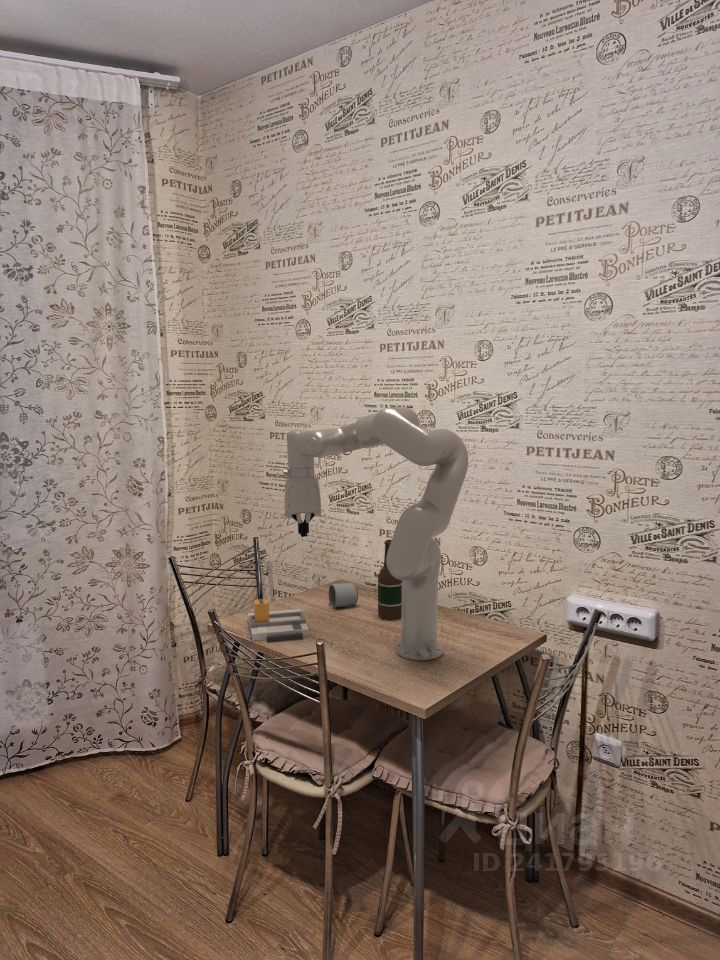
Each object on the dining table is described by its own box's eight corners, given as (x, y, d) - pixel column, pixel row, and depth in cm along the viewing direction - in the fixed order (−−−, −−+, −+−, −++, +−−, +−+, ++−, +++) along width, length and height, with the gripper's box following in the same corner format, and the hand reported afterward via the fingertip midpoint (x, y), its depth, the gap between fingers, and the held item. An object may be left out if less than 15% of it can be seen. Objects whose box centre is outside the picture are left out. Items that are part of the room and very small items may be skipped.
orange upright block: (269, 623, 199) (268, 602, 198) (255, 624, 198) (254, 603, 197) (267, 618, 203) (267, 597, 202) (254, 619, 202) (253, 598, 201)
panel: (308, 635, 195) (308, 625, 195) (252, 641, 191) (251, 630, 191) (300, 615, 212) (299, 606, 212) (248, 619, 209) (247, 610, 208)
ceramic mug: (359, 607, 219) (359, 584, 218) (336, 610, 216) (335, 587, 215) (347, 598, 229) (347, 576, 228) (324, 601, 226) (324, 579, 225)
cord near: (302, 639, 192) (302, 634, 192) (267, 642, 190) (267, 637, 190) (302, 637, 194) (302, 632, 194) (266, 640, 192) (266, 635, 191)
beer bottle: (401, 621, 206) (401, 543, 203) (376, 620, 207) (375, 543, 204) (404, 612, 214) (404, 538, 210) (379, 611, 215) (379, 537, 212)
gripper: (276, 476, 190) (279, 540, 192) (329, 473, 193) (331, 536, 196) (273, 473, 197) (276, 535, 200) (324, 470, 201) (326, 531, 203)
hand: (303, 535), depth 198 cm, fingers closed
